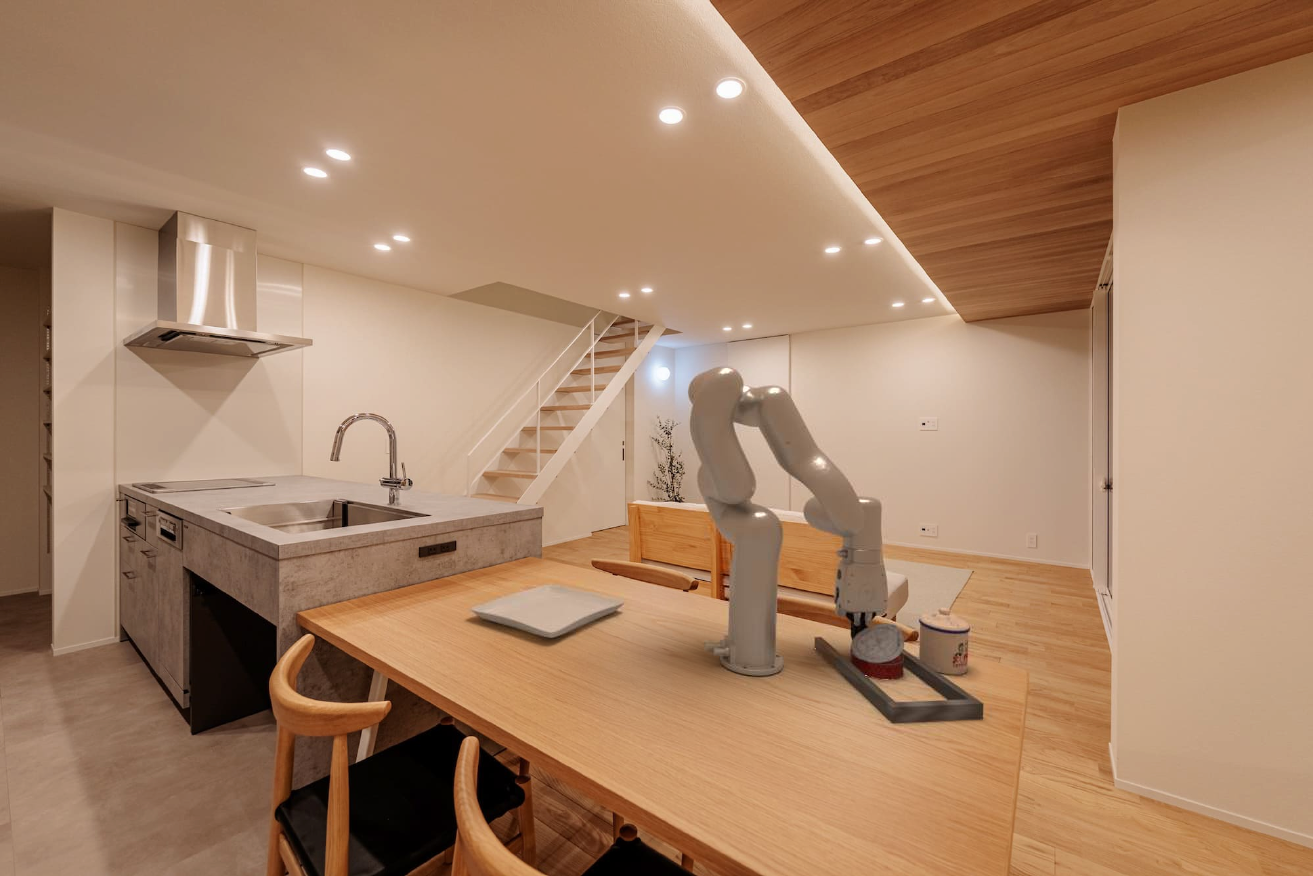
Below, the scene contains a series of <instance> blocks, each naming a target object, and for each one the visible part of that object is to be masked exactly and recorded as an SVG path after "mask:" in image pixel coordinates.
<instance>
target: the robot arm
mask: <svg viewBox="0 0 1313 876" xmlns="http://www.w3.org/2000/svg"><path fill="white" fill-rule="evenodd" d="M687 394H688V399H689V401H690V403H691V404H692V407H691V411H690V418H689V430H690V431H689V432H690V436H691V440H692V443H693V445H694V448H695V450H696V453H697V455H698V458H699V461H700V463H701V464H700V466H699V467H698V471H697V475H696V478H697V479H696V481H697V486H698V489H699V492H700V494H701V497H702V500H703V501H704V503H705V505H706V508H707V510H708V512H709V514H710V516H711V518H712V521H713V522H714V524H715V527H716V528H717V530H718V532H719V533H720V535H721V536H722V537H723V538H724V539H725V540H726V541H727V542H729V543H731V544H732V545H734V546H733V553H732V556H731V561H730V567H729V584H728V585H729V588H728V589H729V590H728V593H729V594H728V621H727V622H728V626H727V627H728V629H727V634H724V635H723V639H719V641H704V644H703V645H704V647H703V648H704V652H706V653H707V652H708V653H710V652H711V653H713V656H719V661H720V663H721V664H722V665H723V667H725V668H726V669H727V670H730V671H732V672H735V673H738V674H741V675H747V676H758V677H759V676H770V675H774V674H777V673H779V672H781V670H783V668H784V658H783V656H782V655H780V653H778V652H776V651H777V650H776V649H777V622H778V621H777V619H778V618H777V617H778V614H777V613H778V612H777V611H778V580H779V579H778V578H779V562H780V557H781V552H782V548H783V547H782V546H783V541H784V529H783V525H782V522H781V520H780V519H779V517H778V516H777V515H776V513H774V511H772V510H771V509H770V508H768V507H765V506H762V505H760V504H756V503H753V502H752V501H751V500H752V498H753V496H754V494H755V493H756V490H757V480H756V476H755V473H754V471H753V468H752V467H751V464H750V463H749V460H748V459H747V456H746V454H745V451H744V449H743V448H742V445H741V443H740V440H739V438H738V435H737V433H736V430H735V426H734V423H736V424H739V425H743V426H747V427H752V428H758V429H759V430H760V431H759V432H760V433H761V434H762V436H763V438H764V440H765V442H766V444H767V445H768V447H769V449H770V452H771V453H772V454H773V457H774V458H775V460H776V462H777V464H778V465H779V466H780V467H781V468H782V470H784V471H785V472H786V473H787V474H788V475H790V476H791V477H793V479H795V480H797V481H799V483H800V484H803V485H804V487H806V488H807V489H808V490H809V491H810V492H811V493H812V495H813V497H811V498H810V499H808V500H807V501H806V502H805V504H804V506H803V517H804V519H805V521H806V523H808V525H809V526H811V528H814V529H816V530H819V531H822V532H824V533H827V534H832V535H834V536H837V537H839V538H842V545H841V549H840V550H837V551H836V556H837V557H838V558H841V559H840V560H839V561H838V565H837V568H836V569H837V570H836V575H835V580H834V593H833V594H834V595H833V597H834V598H833V600H834V604H835V608H834V613H835V614H836V615H837V616H840V617H844V618H846V619H847V620H848V622H850V638H851V641H852V640H853V639H854V637H855V636H856V635H857V634H858V633H859V632H861V631H863V630H864V629H865V628H868V627H870V625H871V622H872V621H873V620H874V618H876V617H878V616H881V615H884V614H885V611H887V610H888V607H889V589H888V578H887V571H886V567H885V563H883V562H881V546H882V545H881V544H882V543H881V541H882V507H883V506H882V503H881V501H880V499H877V498H876V497H870V496H858V495H857V493H856V492H855V489H854V487H853V485H852V483H851V482H850V481H849V479H848V478H847V477H846V475H845V474H844V473H843V471H841V469H839V467H837V465H836V464H835V463H834V462H833V461H832V460H831V459H830V458H829V456H828V455H827V454H825V452H823V451H822V449H820V447H818V445H817V443H816V442H815V439H814V438H813V435H812V434H811V432H810V430H809V429H808V427H807V425H806V423H805V421H804V419H803V417H802V415H801V414H800V412H799V409H798V407H797V405H796V404H795V402H794V400H793V398H792V397H791V395H790V394H789V392H788V391H787V390H786V388H783V387H782V386H778V385H774V384H773V385H772V384H771V385H764V386H760V387H752V386H748V385H745V384H744V379H743V377H742V375H741V374H740V372H739V371H738V370H737V369H735V368H734V367H731V366H726V365H724V366H723V365H722V366H717V367H713V368H711V369H708V370H705V371H703V372H701V373H699V374H697V375H695V376H694V378H692V380H691V381H690V383H689V385H688V390H687Z"/></svg>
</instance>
